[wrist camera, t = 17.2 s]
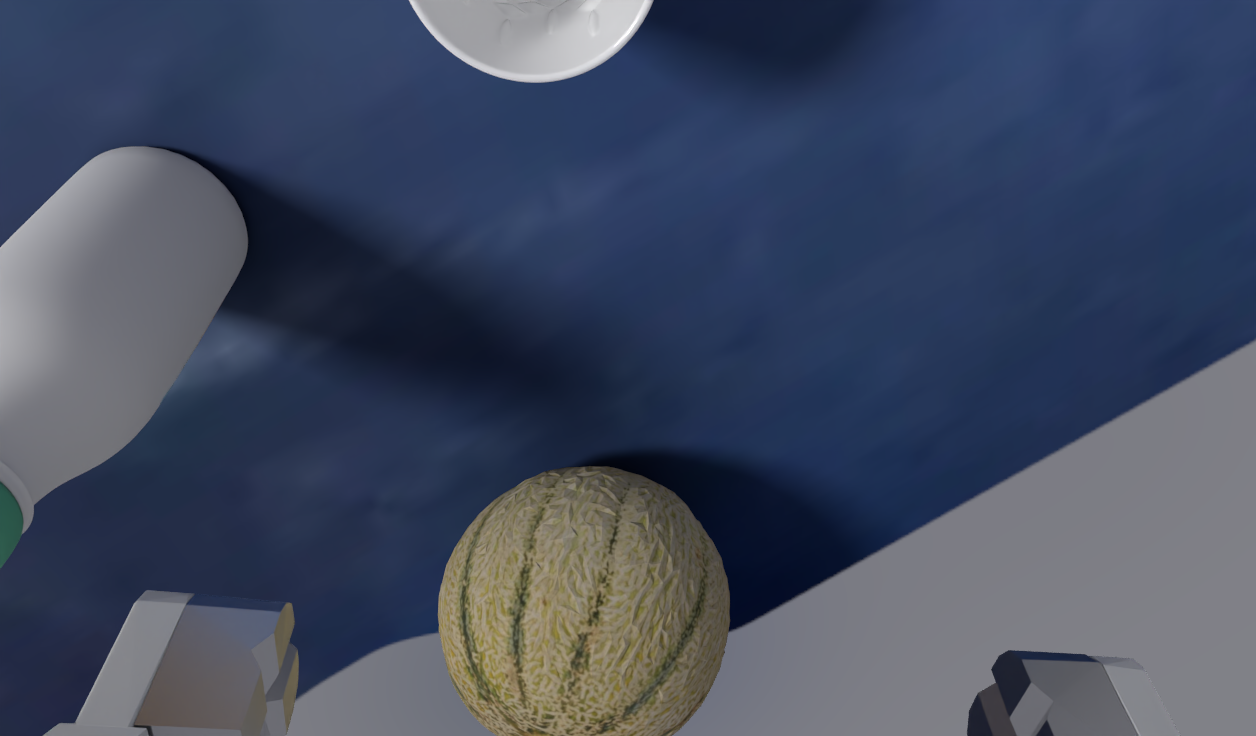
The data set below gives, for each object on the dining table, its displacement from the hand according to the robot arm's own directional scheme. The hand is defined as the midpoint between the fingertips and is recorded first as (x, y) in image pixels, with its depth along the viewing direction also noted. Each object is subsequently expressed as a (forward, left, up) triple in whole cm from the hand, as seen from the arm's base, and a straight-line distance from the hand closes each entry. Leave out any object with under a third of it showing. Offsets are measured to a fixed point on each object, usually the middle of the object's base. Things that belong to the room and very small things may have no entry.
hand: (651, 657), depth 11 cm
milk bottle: (+19, +14, -33) cm, 41 cm away
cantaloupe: (-2, +30, -33) cm, 45 cm away
